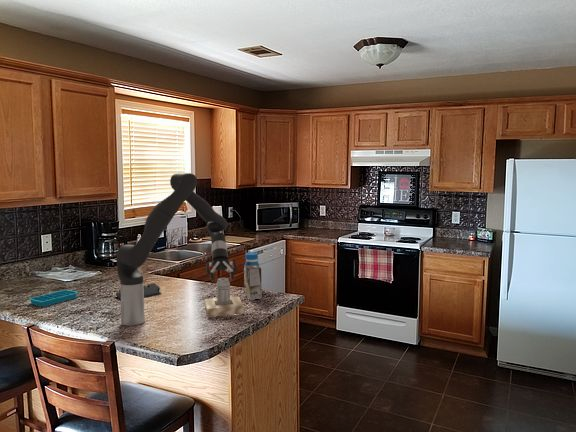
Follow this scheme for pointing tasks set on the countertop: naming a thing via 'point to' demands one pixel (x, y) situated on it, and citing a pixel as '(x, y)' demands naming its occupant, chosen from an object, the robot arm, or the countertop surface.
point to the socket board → (223, 307)
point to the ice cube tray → (53, 297)
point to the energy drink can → (223, 291)
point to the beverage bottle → (250, 261)
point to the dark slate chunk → (147, 291)
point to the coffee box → (253, 282)
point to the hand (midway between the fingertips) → (222, 280)
